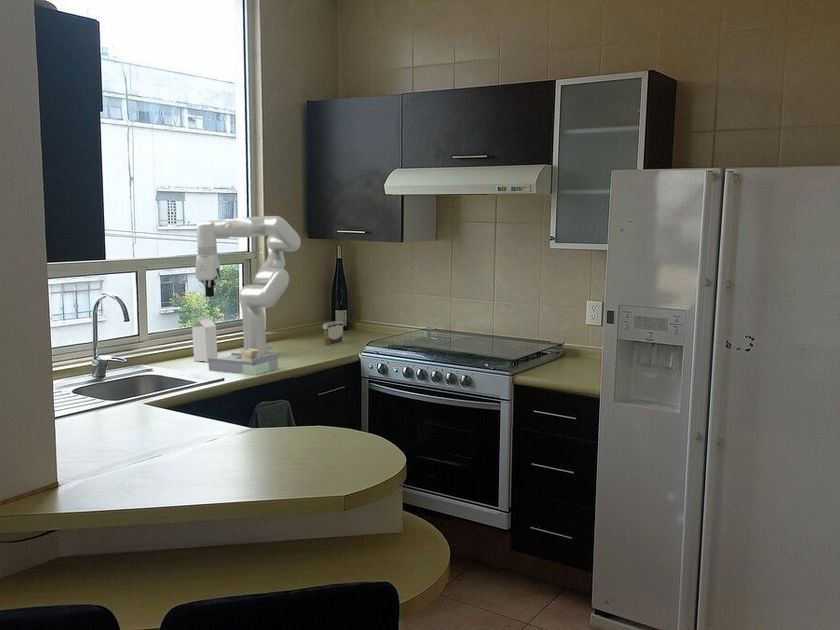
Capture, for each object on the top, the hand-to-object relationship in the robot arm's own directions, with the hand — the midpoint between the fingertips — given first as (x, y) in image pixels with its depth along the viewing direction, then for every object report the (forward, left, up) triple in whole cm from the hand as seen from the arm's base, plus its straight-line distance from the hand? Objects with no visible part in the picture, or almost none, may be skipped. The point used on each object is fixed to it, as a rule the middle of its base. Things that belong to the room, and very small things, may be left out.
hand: (209, 296), depth 332 cm
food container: (-66, +13, -29) cm, 73 cm away
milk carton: (-8, -12, -29) cm, 33 cm away
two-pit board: (+1, +17, -29) cm, 34 cm away
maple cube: (+4, +24, -25) cm, 35 cm away
